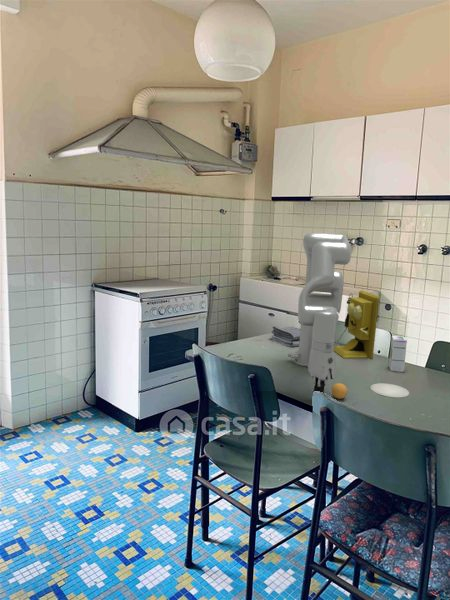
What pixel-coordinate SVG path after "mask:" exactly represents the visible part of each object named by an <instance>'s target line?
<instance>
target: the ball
mask: <svg viewBox="0 0 450 600" xmlns="http://www.w3.org/2000/svg"><path fill="white" fill-rule="evenodd" d="M331 394H332V396H333V397H334V398H336V399H338V400H339V399H344V398H345V397H346V396H348V395H347V394H348V388H347V386H346V385H345V384H343V383H335V384H333V386H332V388H331Z"/></svg>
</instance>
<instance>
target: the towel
mask: <svg viewBox="0 0 450 600" xmlns="http://www.w3.org/2000/svg"><path fill="white" fill-rule="evenodd" d="M272 329H273V330H272V331H271V333H272V335H271V337H270V338H269V340H270V341H273V342H276V343H277V344H281V345H284V346H286V347H291V348H292V347H293V348H294V347H299V340H300V328H299V327H295V326H287V327H279V326H276V325H274V326H273V327H272Z"/></svg>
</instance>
